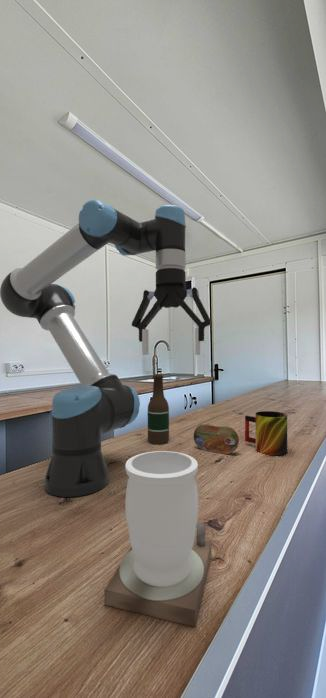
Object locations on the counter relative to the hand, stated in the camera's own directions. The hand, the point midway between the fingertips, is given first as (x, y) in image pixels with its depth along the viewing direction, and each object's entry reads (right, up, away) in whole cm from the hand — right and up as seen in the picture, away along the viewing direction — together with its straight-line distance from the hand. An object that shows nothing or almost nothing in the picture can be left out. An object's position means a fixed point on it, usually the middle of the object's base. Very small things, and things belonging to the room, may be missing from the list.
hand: (170, 354), depth 80 cm
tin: (+15, -32, +23) cm, 42 cm away
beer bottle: (-4, -32, +34) cm, 46 cm away
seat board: (-2, -32, -34) cm, 46 cm away
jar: (-2, -30, -35) cm, 46 cm away
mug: (+31, -32, +23) cm, 50 cm away
